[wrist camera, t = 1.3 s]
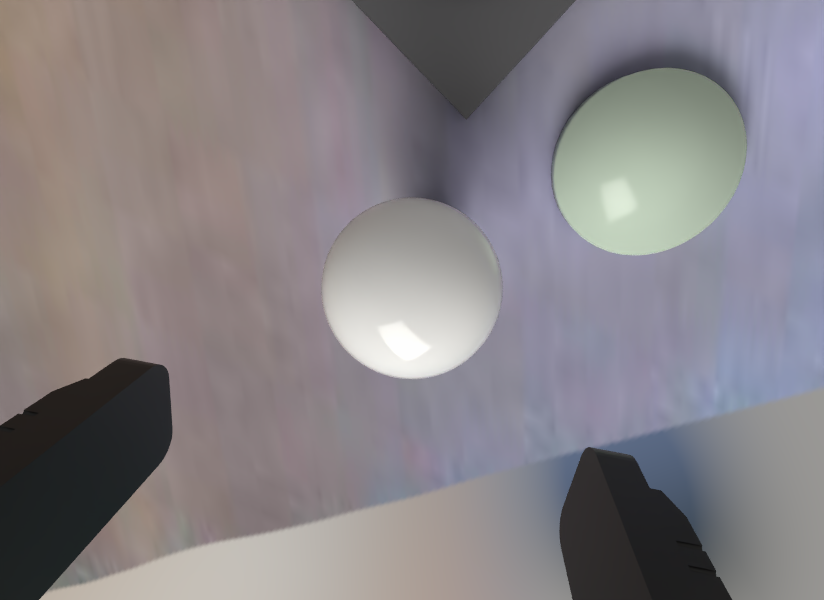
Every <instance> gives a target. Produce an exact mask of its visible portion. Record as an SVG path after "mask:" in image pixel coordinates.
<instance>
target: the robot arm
mask: <svg viewBox="0 0 824 600" xmlns="http://www.w3.org/2000/svg"><path fill="white" fill-rule="evenodd" d="M171 439H172V415H171V400H170V385H169V374H168V371H167V369H166V368H165V367H164V366H163V365H159V364H153V363H148V362H143V361H138V360H132V359H127V358H120V359H117V360H116V361H114V362H112V363H111V364H110V365H108V366H107V367H105V368H104V369H102V370H101V371H99V372H98V373H96V374H95V375H94V376H92V377H91V378H89V379H83V380H80V381H78V382H75V383H73V384H70V385H68V386H65V387H63V388H60V389H57V390H55V391H52V392H51V393H49V394H48V395H46V396H45V397H43V398H42V399H40V400H38V401H37V402H35V403H34V404H32V405H31V406H29V407H28V408H26V409H25V410H24V412H23V414H17V415H16V416H14V417H13V418H11V419H10V420H8V421H7V422H5V423H3V424H2V425H0V600H39V599H40V598H41V597H42V596H43V595H44V594H45V592H46V591H47V590H48V589H49V588H50V587H51V586H52V585H53V583H54V582H55V581H56V580H57V579H58V578H59V577H60V576H61V574H62V573H63V572H64V571H65V570H66V569H67V568H68V567H69V565H70V564H71V563H72V562H73V561H74V560H75V559H76V558H77V556H78V555H79V554H80V553H81V552H82V551H83V550H84V549H85V547H86V546H87V545H88V544H89V543H90V542H91V541H92V540H93V538H94V537H95V536H96V535H97V534H98V533H99V532H100V531H101V529H102V528H103V527H104V526H105V525H106V524H107V523H108V522H109V520H110V519H111V518H112V517H113V516H114V515H115V514H116V513H117V511H118V510H119V509H120V508H121V507H122V506H123V505H124V504H125V502H126V501H127V500H128V499H129V498H130V497H131V496H132V495H133V493H134V492H135V491H136V490H137V489H138V488H139V487H140V486H141V485H142V483H143V482H144V481H145V480H146V479H147V478H148V477H149V476H150V474H151V473H152V472H153V471H154V470H155V469H156V468H157V467H158V465H159V464H160V463H161V462H162V460H163V459H164V457H165V455H166V453H167V451H168V449H169V446H170V443H171ZM560 543H561V549H562V553H563V558H564V563H565V567H566V572H567V576H568V581H569V585H570V590H571V594H572V599H573V600H732V599H731V597H730V595H729V593H728V592H727V590H726V588H725V586H724V584H723V582H722V581H721V579H720V577H716V570H715V568H714V566H713V564H712V563H711V561H710V559H709V557H708V555H707V553H706V552H705V551H702V544H701V543H700V541H699V539H698V537H697V535H696V533H695V532H694V530H693V528H692V526H691V524H690V523H689V521H688V519H687V517H686V516H685V515H684V514H683V513H682V512H681V511H680V510H679V509H678V508H677V507H676V506H675V505H674V504H673V502H672V501H671V500H670V499H669V498H668V497H667V496H666V495H665V494H664V493H663V492H662V491H661V490H656V489H651V488H649V486H648V484H647V482H646V480H645V478H644V476H643V474H642V472H641V470H640V468H639V466H638V463H637V462H636V460H635V458H634V457H633V456H631V455H627V454H622V453H617V452H611V451H606V450H601V449H596V448H591V447H588V448H586V449H585V450H584V452H583V454H582V456H581V458H580V461H579V464H578V467H577V469H576V472H575V475H574V478H573V481H572V484H571V486H570V489H569V492H568V494H567V497H566V500H565V503H564V506H563V509H562V513H561V518H560Z"/></svg>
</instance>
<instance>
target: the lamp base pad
mask: <svg viewBox="0 0 824 600" xmlns="http://www.w3.org/2000/svg"><path fill="white" fill-rule="evenodd" d="M352 1H353V2H354V3H355V4H356V5H357V6H358V7H359V8H360V9H361V10H362V11H363V12H364V13H365V14H366V15H367V16H368V18H369V19H370V20H371V21H372V22H373V23H374V24H375V25H376V26H377V27H378V28H379V29H380V30H381V31H382V32H383V33H384V34H385V35H386V36H387V37H388V38H389V39H390V40H391V42H392V43H393V44H394V45H395V46H396V47H397V48H398V49H399V50H400V51H401V52H402V53H403V54H404V55H405V56H406V57H407V58H408V59H409V60H410V61H411V62H412V63H413V64H414V65H415V67H416V68H417V69H418V70H419V71H420V72H421V73H422V74H423V75H424V76H425V77H426V78H427V79H428V80H429V81H430V82H431V83H432V84H433V85H434V86H435V87H436V88H437V89H438V91H439V92H440V93H441V94H442V95H443V96H444V97H445V98H446V99H447V100H448V101H449V102H450V103H451V104H452V105H453V106H454V107H455V108H456V109H457V110H458V111H459V112H460V113H461V115H462V116H463V117H464V118H465V119H467V118H468V117H469V116H470V115H471V114H472V113H473V112H474V111H475V109H476V108H477V107H478V106H479V105H480V104H481V103H482V102H483V101H484V100H485V99H486V98H487V96H488V95H489V94H490V93H491V92H492V91H493V90H494V89H495V88H496V87H497V86H498V84H499V83H500V82H501V81H502V80H503V79H504V78H505V77H506V76H507V75H508V74H509V72H510V71H511V70H512V69H513V68H514V67H515V66H516V65H517V64H518V63H519V62H520V60H521V59H522V58H523V57H524V56H525V55H526V54H527V53H528V52H529V51H530V50H531V48H532V47H533V46H534V45H535V44H536V43H537V42H538V41H539V40H540V39H541V38H542V37H543V35H544V34H545V33H546V32H547V31H548V30H549V29H550V28H551V27H552V26H553V25H554V23H555V22H556V21H557V20H558V19H559V18H560V17H561V16H562V15H563V14H564V13H565V11H566V10H567V9H568V8H569V7H570V6H571V5H572V4H573V3H574V2H575V1H576V0H352Z"/></svg>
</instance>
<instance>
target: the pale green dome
mask: <svg viewBox="0 0 824 600" xmlns="http://www.w3.org/2000/svg"><path fill="white" fill-rule="evenodd" d="M746 150H747V142H746V131H745V127H744V123H743V119H742V117H741V114H740V112H739V110H738V108H737V106H736V105H735V103H734V101H733V100H732V98H731V97H730V96H729V95H728V94H727V92H726V91H725V90H724V89H723V88H721V87H720V86H719V85H718V84H717V83H715V82H714V81H712V80H710V79H709V78H707V77H705V76H703V75H700V74H698V73H695V72H693V71H688V70H684V69H677V68H656V69H650V70H645V71H640V72H636V73H633V74H630V75H627V76H624V77H621V78H618V79H616V80H614V81H612V82H610V83H608V84H606V85H605V86H603V87H602V88H600V89H599V90H597V91H596V92H594V93H593V94H592V95H591V96H590V97H588V98H587V99H586V100H585V101H584V102H583V103H582V104H581V105H580V106H579V107H578V108H577V109H576V111H575V112H574V113H573V115H572V116H571V117H570V118H569V120H568V122H567V123H566V125H565V127H564V128H563V130H562V132H561V134H560V137H559V139H558V141H557V144H556V147H555V151H554V154H553V160H552V168H551V181H552V189H553V194H554V198H555V201H556V203H557V206H558V208H559V210H560V212H561V214H562V216H563V217H564V218H565V220H566V221H567V222H568V224H569V225H570V226H571V227H572V228H573V229H574V230H575V231H576V232H577V233H578V234H579V235H580V236H581V237H582V238H584V239H585V240H587V241H588V242H589V243H591V244H593V245H595V246H597V247H598V248H601V249H603V250H606V251H609V252H613V253H617V254H624V255H646V254H653V253H657V252H661V251H665V250H668V249H671V248H673V247H676V246H678V245H680V244H682V243H684V242H686V241H688V240H690V239H691V238H693V237H694V236H696V235H697V234H699V233H700V232H701V231H703V230H704V229H705V228H706V227H708V226H709V225H710V224H711V223H712V222H713V221H714V220H715V219H716V218H717V217H718V216H719V215H720V213H721V212H722V211H723V210H724V208H725V207H726V206H727V204H728V203H729V201H730V200H731V198H732V196H733V195H734V193H735V191H736V189H737V186H738V184H739V182H740V179H741V176H742V173H743V170H744V165H745V160H746Z"/></svg>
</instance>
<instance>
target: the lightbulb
mask: <svg viewBox="0 0 824 600" xmlns="http://www.w3.org/2000/svg"><path fill="white" fill-rule="evenodd" d="M321 295H322V303H323V308H324V312H325V316H326V319H327V321H328V324H329V326H330V328H331V330H332V332H333V334H334V335H335V337H336V339H337V340H338V341H339V343H340V344H341V345H342V346H343V348H344V349H345V350H346V351H347V352H348V353H349V354H350V355H351V356H352V357H353V358H355V359H356V360H357V361H359V362H360V363H361V364H363V365H364V366H366V367H368V368H370V369H372V370H374V371H376V372H378V373H381V374H384V375H387V376H391V377H396V378H403V379H421V378H428V377H433V376H437V375H440V374H443V373H446V372H448V371H450V370H452V369H454V368H456V367H458V366H459V365H461V364H463V363H464V362H465V361H467V360H468V359H469V358H471V357H472V356H473V355H474V354H475V353H476V352H477V351H478V350H479V349H480V348H481V346H482V345H483V344H484V343H485V341H486V340H487V338H488V337H489V335H490V333H491V332H492V330H493V328H494V326H495V324H496V321H497V318H498V316H499V312H500V308H501V303H502V295H503V281H502V273H501V268H500V264H499V261H498V258H497V255H496V253H495V250H494V248H493V246H492V245H491V243H490V241H489V239H488V238H487V236H486V235H485V234H484V232H483V231H482V230H481V229H480V228H479V227H478V225H477V224H476V223H475V222H473V221H472V220H471V219H470V218H469V217H468V216H466V215H465V214H463V213H462V212H460V211H459V210H457V209H455V208H453V207H451V206H449V205H447V204H444V203H442V202H439V201H435V200H431V199H425V198H414V197H410V198H399V199H393V200H389V201H385V202H382V203H380V204H377V205H375V206H373V207H371V208H369V209H367V210H365V211H364V212H362V213H361V214H359V215H358V216H357V217H355V218H354V219H353V220H352V221H351V222H350V223H349V224H348V225H347V226H346V227H345V228H344V229H343V230H342V231H341V233H340V234H339V235H338V237H337V238H336V240H335V241H334V243H333V245H332V247H331V249H330V251H329V253H328V256H327V258H326V261H325V265H324V269H323V274H322V282H321Z"/></svg>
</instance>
